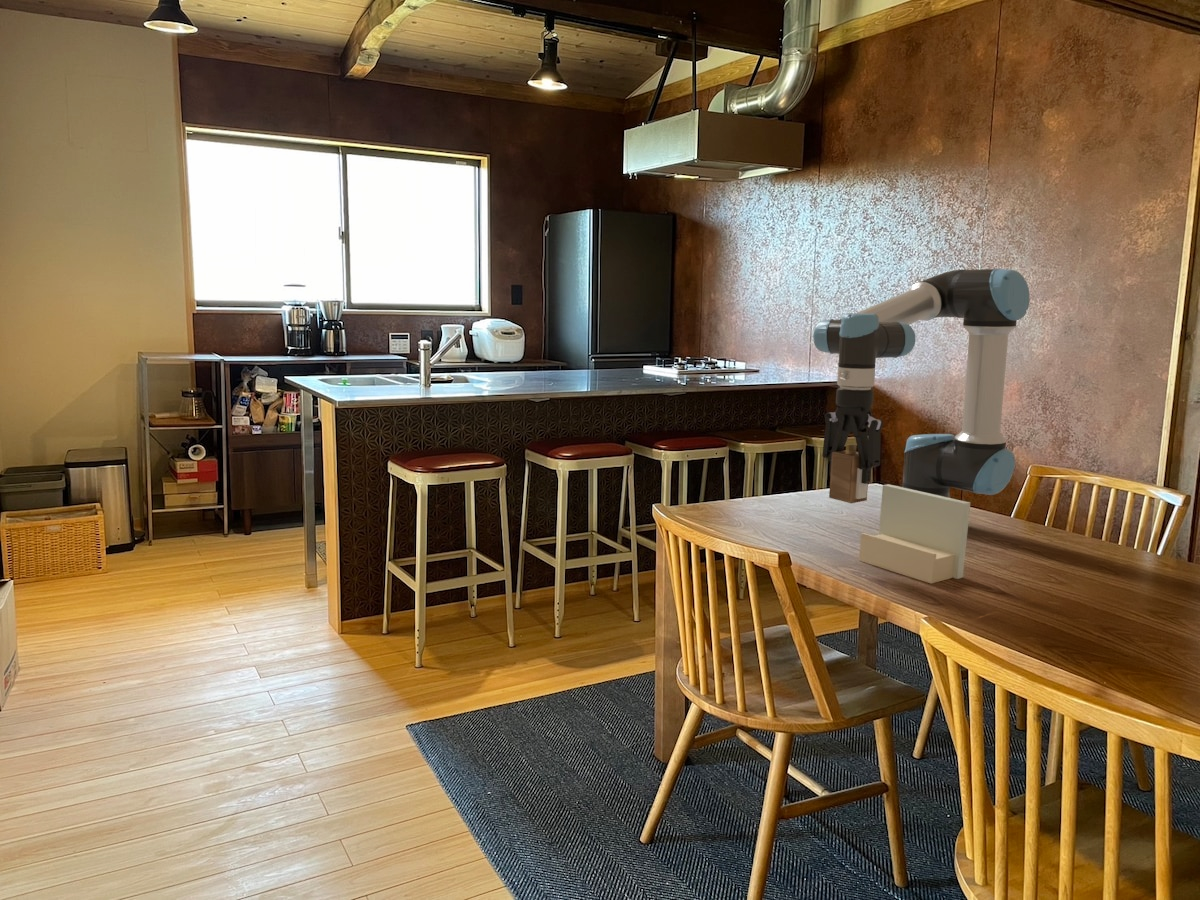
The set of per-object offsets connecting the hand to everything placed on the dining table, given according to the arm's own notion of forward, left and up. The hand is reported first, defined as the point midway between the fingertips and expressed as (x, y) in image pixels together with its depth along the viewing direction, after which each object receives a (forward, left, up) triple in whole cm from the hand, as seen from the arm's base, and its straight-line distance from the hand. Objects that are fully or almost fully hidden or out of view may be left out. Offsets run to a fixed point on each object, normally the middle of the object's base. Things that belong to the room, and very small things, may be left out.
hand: (848, 494), depth 185 cm
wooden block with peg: (0, 0, -1) cm, 1 cm away
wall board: (-9, +10, -15) cm, 20 cm away
